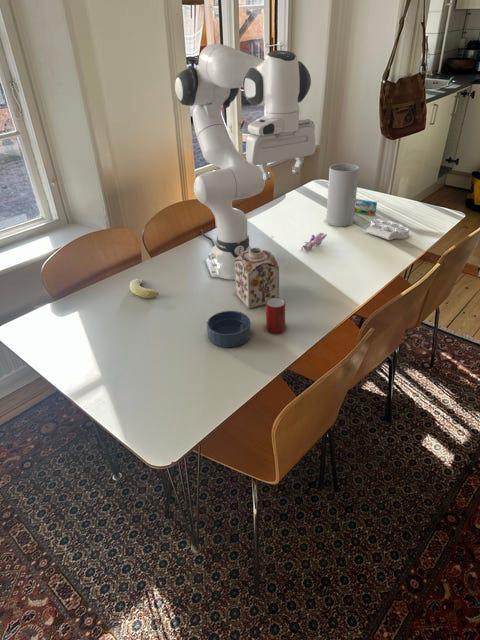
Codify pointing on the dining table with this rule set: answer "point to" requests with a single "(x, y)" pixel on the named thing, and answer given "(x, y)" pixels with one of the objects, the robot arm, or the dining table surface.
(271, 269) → the decorative jar
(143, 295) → the fruit
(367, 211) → the colorful printed box
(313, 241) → the pink antlered figurine
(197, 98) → the robot arm
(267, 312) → the can
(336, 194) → the cylinder vase
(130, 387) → the dining table surface
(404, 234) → the egg carton
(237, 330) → the bowl
